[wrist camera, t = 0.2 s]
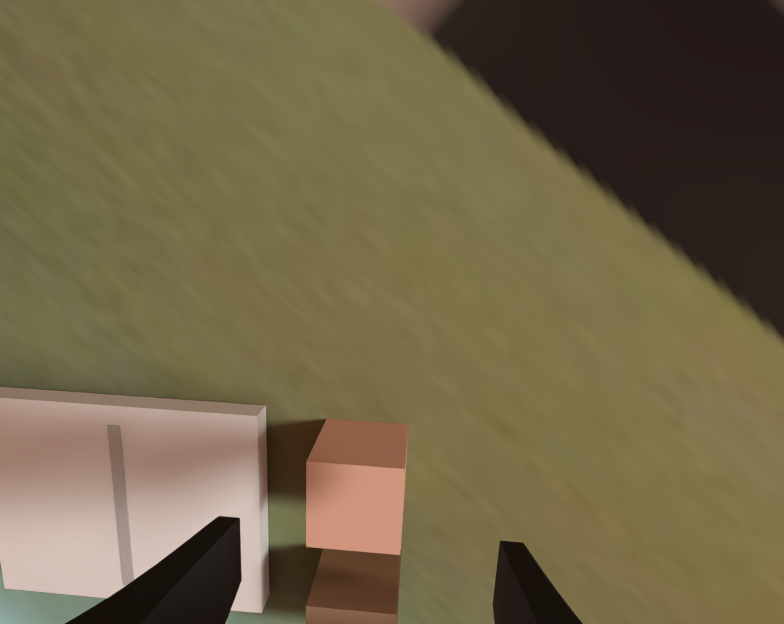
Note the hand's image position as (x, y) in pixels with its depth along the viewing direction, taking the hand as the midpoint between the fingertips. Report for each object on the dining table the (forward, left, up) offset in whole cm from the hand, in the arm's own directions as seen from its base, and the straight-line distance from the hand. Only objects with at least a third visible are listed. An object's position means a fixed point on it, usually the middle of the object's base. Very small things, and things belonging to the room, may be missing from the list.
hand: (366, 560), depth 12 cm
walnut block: (-10, +1, -10) cm, 14 cm away
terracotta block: (-3, +1, -10) cm, 10 cm away
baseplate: (-6, +13, -10) cm, 17 cm away
